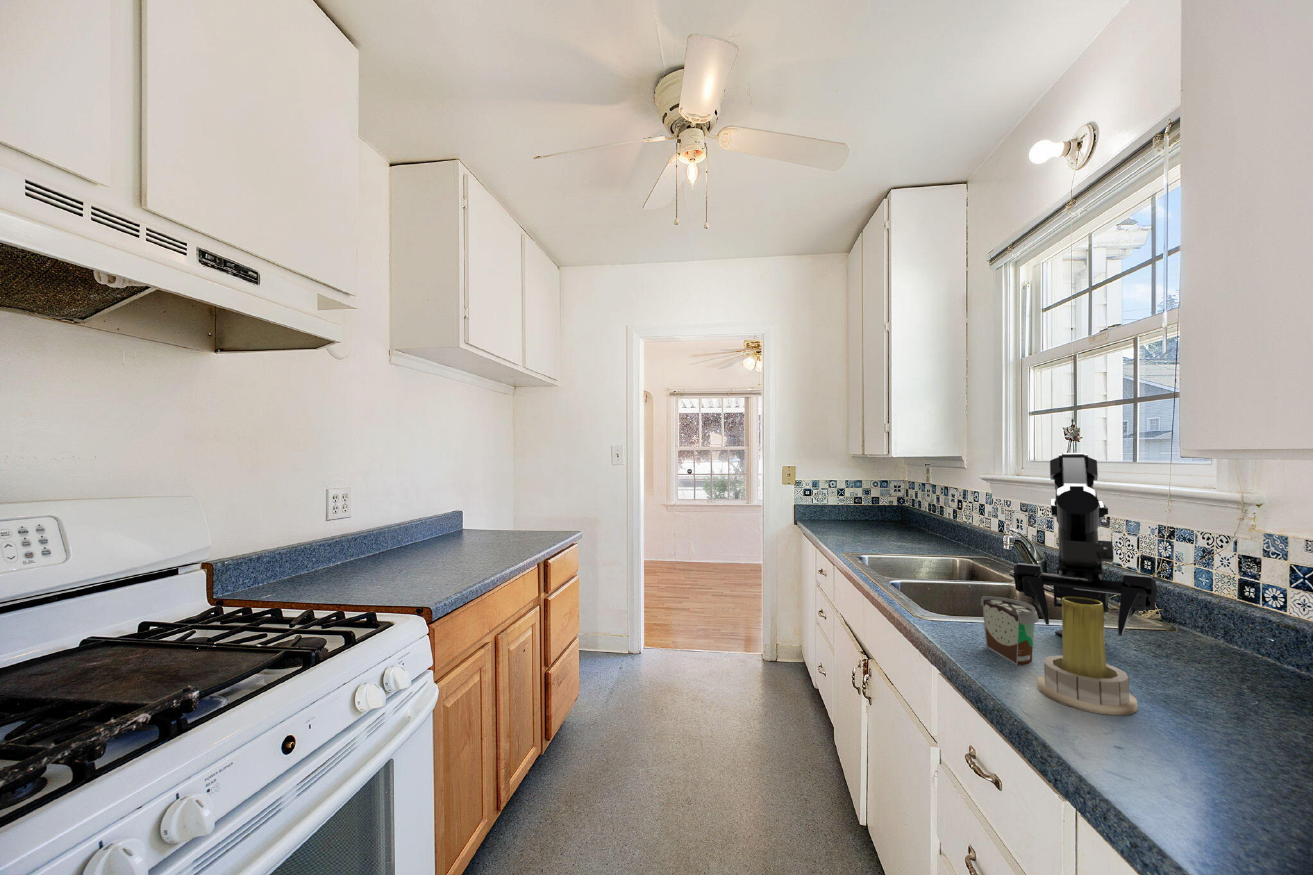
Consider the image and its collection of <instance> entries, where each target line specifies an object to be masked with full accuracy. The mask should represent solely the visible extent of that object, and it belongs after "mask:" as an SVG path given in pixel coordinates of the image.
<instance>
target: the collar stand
mask: <svg viewBox="0 0 1313 875" xmlns="http://www.w3.org/2000/svg"><path fill="white" fill-rule="evenodd" d="M1062 659H1063V655H1049V656H1048V657H1047V656H1046V657H1044V658H1043V673H1044V674H1043V675H1040V676H1039V677H1038V678H1037V688H1038V690H1039V692H1040V693H1041V694H1043V695H1044V696H1045V697H1047V698H1049V699H1051V700H1053V701H1055V702H1057V703H1059V704H1061V705H1065V706H1067V707H1070V708H1074V709H1077V710H1081V711H1085V712H1088V711H1089V713H1094V714H1098V713H1099V714H1100V715H1107V716H1128V715H1132V714H1135V713H1137V711H1138V701H1137V698H1136V697H1135V696H1134V695H1133V694H1131V693H1130V681H1129V680H1130V678H1129V676H1128V675H1127V673H1126V672H1125V671H1123V670H1122V669H1119V668H1117V667H1116V666H1114V665H1111V664H1108V663H1106V671H1107V679H1102V678H1092V677H1086V676H1080V675H1076V674H1073V673H1070V672H1067V671H1064V670H1062Z"/></svg>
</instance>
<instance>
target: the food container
mask: <svg viewBox="0 0 1313 875" xmlns="http://www.w3.org/2000/svg"><path fill="white" fill-rule="evenodd" d="M980 600H981V601H980V606H982V613H983V622H984V623H983V624H984V635H985V637H984V638H985V646H986V648H987V649H989V650H991V651H993V652H994V653H996V654H997V655H999V656H1001V657H1002V658H1004V659H1006V660H1008V661H1010V662H1011V663H1012V664H1014V665H1016V666H1026V665H1030V664H1031V663H1033V650H1034V649H1033V648H1034V633H1035V624H1036V623H1038V622H1039V619H1040V618H1039V616H1038V612H1037V610H1036V608H1035V606H1033V605H1032V604H1030V603H1028V602H1025V601H1021V600H1017V599H1012V598H1007V597H1002V596H1001V597H1000V596H989V595H988V596H987V595H982V596H981V599H980Z"/></svg>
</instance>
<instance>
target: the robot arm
mask: <svg viewBox="0 0 1313 875" xmlns="http://www.w3.org/2000/svg"><path fill="white" fill-rule="evenodd" d="M1098 471H1099V470H1098V460H1096V459H1094V458H1092V457H1089V454H1088V453H1084V452H1063V453H1059V454H1058V456H1057V457H1055V458H1053V459H1051V460H1049V476H1050V481H1052V480H1053V483H1054V489H1055V498H1051V499H1050V500H1051V502H1050V510H1051V511H1050V512H1051V517H1052V518H1056V523H1057V525H1058V528H1057V533H1058V535H1057V536H1058V556H1057V559H1058V561H1057V562H1058V563H1057V564H1058V567H1057V569H1056V573H1047V572H1042V568H1041V565H1040V564H1034V563H1032V564H1031V563H1021V562H1018V563H1016V564H1015V565H1013V579H1014V587H1015V591H1017V592H1019V593H1023V595H1024V596H1025V597H1028V598H1031V599H1032V601H1033V602H1034V604H1035V605H1036V606H1037V608H1038V610H1039V612H1040V615H1041V617H1042V619H1043V620H1044V624H1045V625H1047V626H1049V625H1050V615H1049V613H1050V612H1049V607H1048V603H1047V597H1046V593H1045V586H1052V587H1053V588H1052V589H1053V607H1055V608H1057V607H1059V608H1062V598H1063V597H1069V596H1072V597H1084V598H1090V599H1094V600H1098V601H1100V602H1102V603H1103V608H1104V614H1105V613H1109V594H1114V595H1120V602H1119V613H1118V621H1117V634H1118V636H1119V637H1122V636H1123V634H1124V632H1125V631H1126V628H1127V626H1128V623H1129V621H1130V619H1131V618H1132V617H1133V615H1134V614H1135V613H1136V612H1144V611H1145V610H1146V609H1153V608H1155V607H1156V599H1157V591H1158V589H1157V582H1156V580H1155V579H1154V578H1153V577H1152V576H1151V575H1143V574H1133V573H1124V572H1123V573H1122V574H1121V581H1116V580H1106V579H1102V575H1103V563H1102V562H1104V563H1113V562H1114V546H1113V541H1109V540H1099V533H1098V532H1099V530H1098V529H1099V525H1100V524H1099V523H1100V522H1099V521H1100V520H1104V518H1105V516H1107V515H1109V508H1108V507H1107V506H1106V505H1105V504H1104V502H1103V500H1099V499H1098V494H1097V490H1096V489H1094V483H1095V482H1094V481H1098V477H1099V474H1098ZM1062 632H1063V629H1060V630H1056V631H1055V632H1054V634H1055V635H1058V636H1060V637H1062ZM1104 640H1106V635H1104Z"/></svg>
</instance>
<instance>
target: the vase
mask: <svg viewBox="0 0 1313 875" xmlns="http://www.w3.org/2000/svg"><path fill="white" fill-rule="evenodd" d="M1061 619H1062V620H1061V622H1062V623H1061V624H1062V628H1061V630H1063V632H1062V636H1061V638H1062V639H1061V641H1062V656H1063V659H1062V670H1064V671H1067V672H1070V673H1073V674H1076V675H1080V676H1086V677H1092V678H1102V679H1107V671H1106V664H1107V658H1106V644H1105V640H1106V639H1104V636H1105V613H1104V608H1103V603H1102V602H1100V601H1098V600H1094V599H1090V598H1084V597H1072V596H1069V597H1063V598H1062V607H1061Z"/></svg>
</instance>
